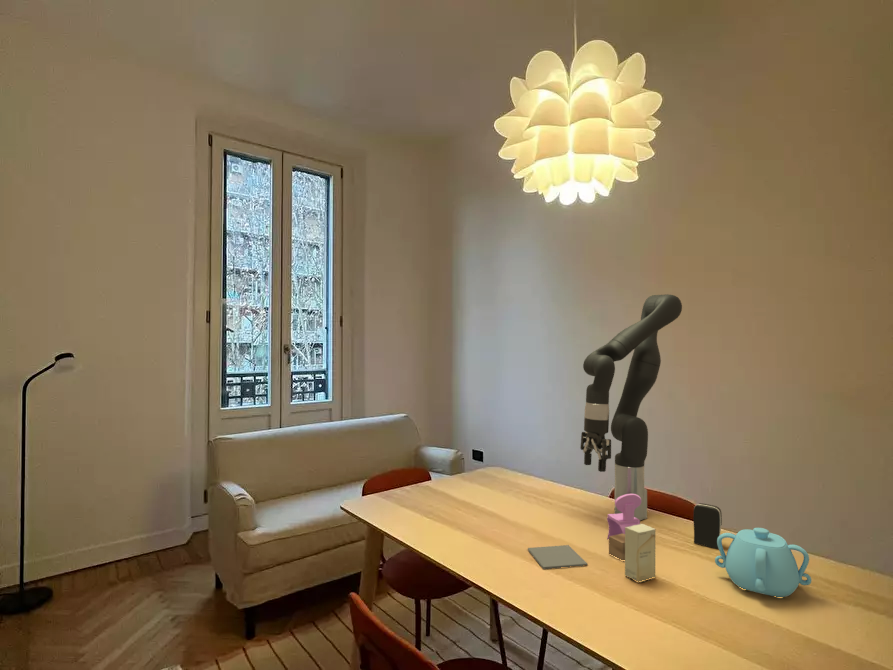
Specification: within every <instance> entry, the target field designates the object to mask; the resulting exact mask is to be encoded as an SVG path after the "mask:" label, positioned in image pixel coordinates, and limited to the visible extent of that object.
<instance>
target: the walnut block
mask: <svg viewBox="0 0 893 670" xmlns="http://www.w3.org/2000/svg"><path fill="white" fill-rule="evenodd" d="M609 554H611V555H613V556H615V557H617V558H619V559H621V560H625V534H623V533H622V534H618V535H613V536H609V540H608V555H609ZM611 555H610V556H611ZM613 556H612V557H613ZM615 557H614V558H615Z"/></svg>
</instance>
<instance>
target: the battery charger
mask: <svg viewBox="0 0 893 670" xmlns="http://www.w3.org/2000/svg"><path fill="white" fill-rule="evenodd" d="M722 514H723V513H722V509H721V508H720V507H718V506H716V505H713V504H707V503H701V502H700V503H697V504H696V505H695V506H694V507H693V543H694V544H696V545H699V546H703V547H707V548H711V549H712V548H713V549H717V550H719V549H718V545H717V538H718V537H719V535H721V529H722V527H721V526H722V524H723V523H722V522H723V519H722V516H723V515H722Z"/></svg>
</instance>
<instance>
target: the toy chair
mask: <svg viewBox="0 0 893 670" xmlns="http://www.w3.org/2000/svg"><path fill="white" fill-rule="evenodd" d="M640 504H641V498H640V497H639V496H638V495H636V494H625V495H622V496H620V497H618V498H617V499H616V500H615V499H614V507H615V506H616V508H617V509H618V510H619V511H621V512H622V513H620V514H615V513H608V514H607V518H606V520H607V521H606V522H607V524H608V533H607V537H606V539H607V540H608V539H609V536H613V535H618V534H622V533H623V534H625V527H629V526H633V525H638V524H641V520H639V519H637V518H635V517H634V510H635V509H636V508H637V507H638V506H640Z"/></svg>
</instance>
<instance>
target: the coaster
mask: <svg viewBox="0 0 893 670" xmlns="http://www.w3.org/2000/svg"><path fill="white" fill-rule="evenodd" d="M527 552H528V553H529V554H530V555H531V556H532V557H533V559H534V560H535V561H536V563H538V565H539V566H540V567H541V568H542V569H543V570H552V568H555V569H562V568H561V567H568V568H571V567H570V566H581V567H584V566H583V565H588V562H587V561H586V560H585V559H583V557H581V555H580V554H578V553H577V551H575V550H574V549H573V548H572V547H571V546H570V545H569V544H566V545H550V546H549V545H548V546H536V547H527ZM588 566H589V565H588Z"/></svg>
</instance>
